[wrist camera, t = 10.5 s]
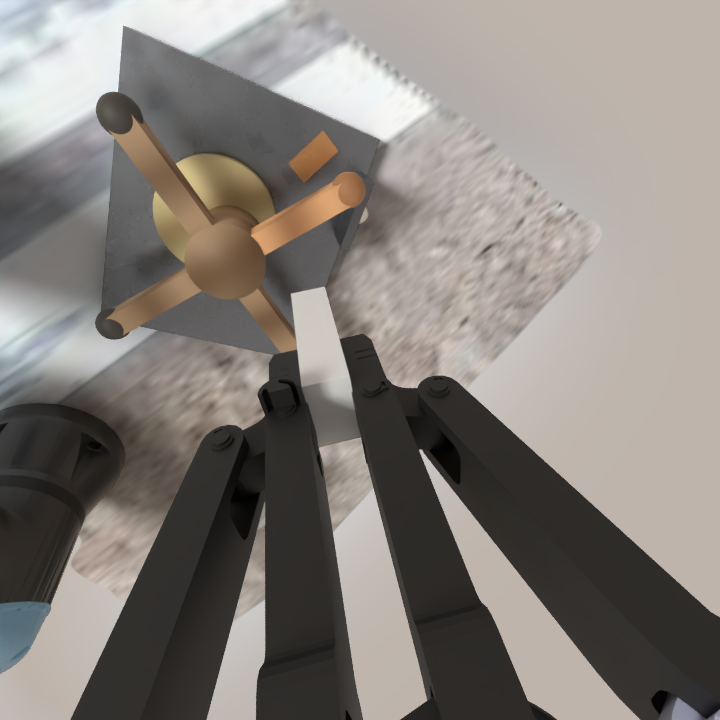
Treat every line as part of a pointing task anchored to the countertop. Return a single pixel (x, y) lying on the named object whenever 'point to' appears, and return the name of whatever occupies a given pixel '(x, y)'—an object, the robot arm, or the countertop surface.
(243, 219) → the capstan
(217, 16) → the countertop surface
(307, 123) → the stand
